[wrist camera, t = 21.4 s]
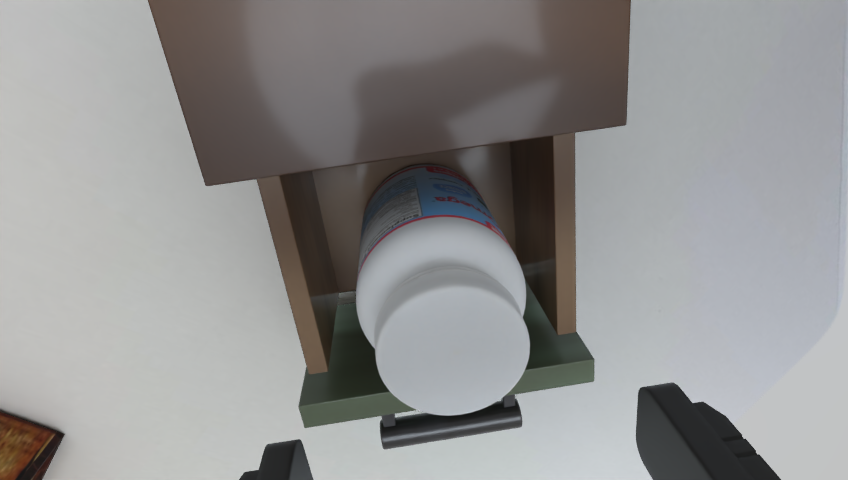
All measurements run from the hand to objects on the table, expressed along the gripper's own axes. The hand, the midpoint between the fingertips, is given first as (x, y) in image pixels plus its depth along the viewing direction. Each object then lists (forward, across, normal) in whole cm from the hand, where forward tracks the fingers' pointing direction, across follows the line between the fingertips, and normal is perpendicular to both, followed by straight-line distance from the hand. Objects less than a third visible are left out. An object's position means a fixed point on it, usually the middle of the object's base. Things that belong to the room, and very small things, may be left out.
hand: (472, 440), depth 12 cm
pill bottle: (+15, 0, 0) cm, 15 cm away
